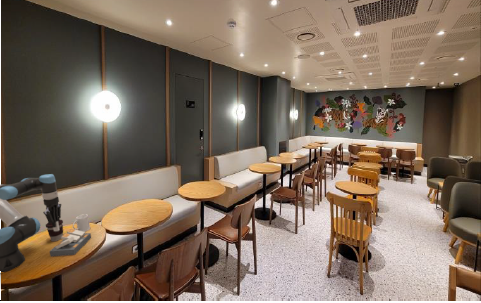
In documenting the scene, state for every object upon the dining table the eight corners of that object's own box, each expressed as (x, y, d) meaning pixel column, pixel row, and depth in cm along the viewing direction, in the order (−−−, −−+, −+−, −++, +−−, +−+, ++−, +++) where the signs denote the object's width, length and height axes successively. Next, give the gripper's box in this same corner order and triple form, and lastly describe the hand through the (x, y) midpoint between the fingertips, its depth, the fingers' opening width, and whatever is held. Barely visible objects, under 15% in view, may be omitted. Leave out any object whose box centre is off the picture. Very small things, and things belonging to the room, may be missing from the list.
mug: (76, 235, 170) (74, 221, 168) (70, 233, 174) (68, 219, 171) (92, 228, 180) (90, 215, 178) (86, 226, 184) (84, 213, 182)
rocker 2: (60, 239, 152) (61, 236, 152) (65, 235, 156) (65, 232, 156) (75, 242, 153) (76, 239, 153) (79, 238, 158) (80, 236, 157)
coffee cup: (49, 237, 167) (46, 219, 164) (66, 233, 173) (63, 216, 170) (47, 244, 159) (43, 225, 156) (64, 239, 164) (61, 221, 162)
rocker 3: (66, 234, 158) (67, 231, 157) (70, 231, 162) (71, 228, 162) (81, 237, 159) (81, 235, 159) (84, 234, 164) (85, 231, 163)
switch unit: (50, 256, 145) (49, 249, 144) (70, 239, 165) (69, 233, 164) (74, 254, 147) (73, 247, 146) (91, 237, 167) (90, 231, 166)
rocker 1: (56, 249, 147) (54, 246, 146) (61, 245, 151) (59, 242, 151) (70, 242, 147) (68, 240, 146) (74, 238, 151) (72, 236, 151)
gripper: (49, 201, 137) (55, 235, 141) (63, 193, 149) (69, 225, 154) (36, 202, 136) (43, 236, 140) (52, 194, 149) (57, 225, 153)
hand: (56, 230), depth 147 cm, fingers closed
